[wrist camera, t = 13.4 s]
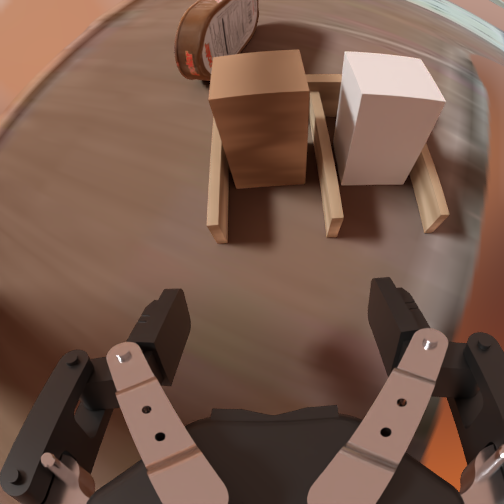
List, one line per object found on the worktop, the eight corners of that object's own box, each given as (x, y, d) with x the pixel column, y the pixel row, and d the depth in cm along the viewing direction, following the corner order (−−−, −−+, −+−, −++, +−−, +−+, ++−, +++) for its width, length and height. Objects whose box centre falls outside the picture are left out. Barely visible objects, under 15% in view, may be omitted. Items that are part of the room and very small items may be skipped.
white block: (341, 185, 22) (361, 93, 13) (332, 143, 23) (344, 51, 14) (403, 184, 21) (445, 101, 13) (390, 143, 22) (420, 58, 14)
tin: (243, 24, 31) (233, -30, 23) (266, 26, 30) (259, -31, 22) (185, 96, 27) (159, 28, 19) (214, 99, 26) (192, 26, 18)
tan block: (236, 189, 22) (208, 99, 14) (236, 146, 24) (213, 57, 15) (305, 184, 22) (309, 91, 13) (299, 142, 23) (299, 49, 15)
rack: (217, 243, 21) (202, 218, 17) (222, 115, 25) (213, 82, 21) (432, 232, 20) (456, 207, 16) (394, 110, 24) (404, 78, 20)
